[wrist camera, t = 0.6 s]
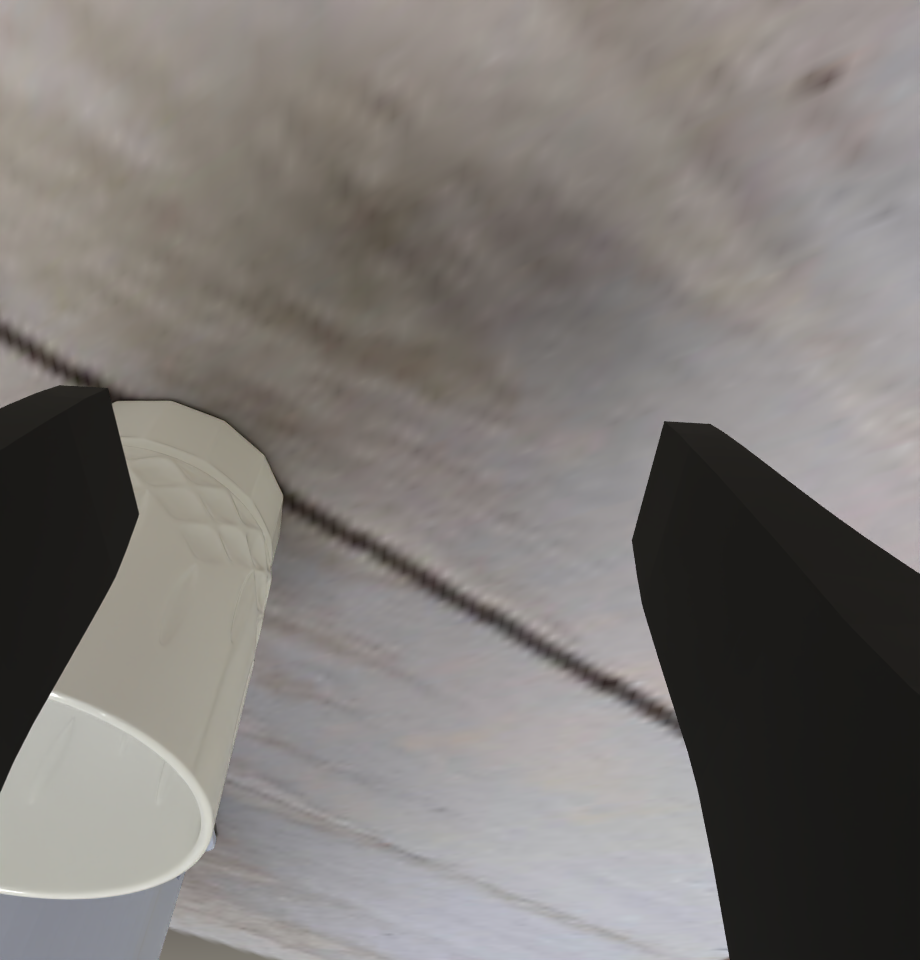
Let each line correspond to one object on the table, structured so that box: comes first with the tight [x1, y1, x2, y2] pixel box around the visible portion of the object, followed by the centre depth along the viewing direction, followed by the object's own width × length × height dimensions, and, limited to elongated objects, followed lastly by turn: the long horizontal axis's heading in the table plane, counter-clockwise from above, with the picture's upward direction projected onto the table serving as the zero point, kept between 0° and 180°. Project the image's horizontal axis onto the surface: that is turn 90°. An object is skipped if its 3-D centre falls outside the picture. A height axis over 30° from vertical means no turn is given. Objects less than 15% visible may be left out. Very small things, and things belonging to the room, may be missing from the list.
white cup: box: [0, 401, 283, 899], centre depth 18 cm, size 8×8×10 cm
